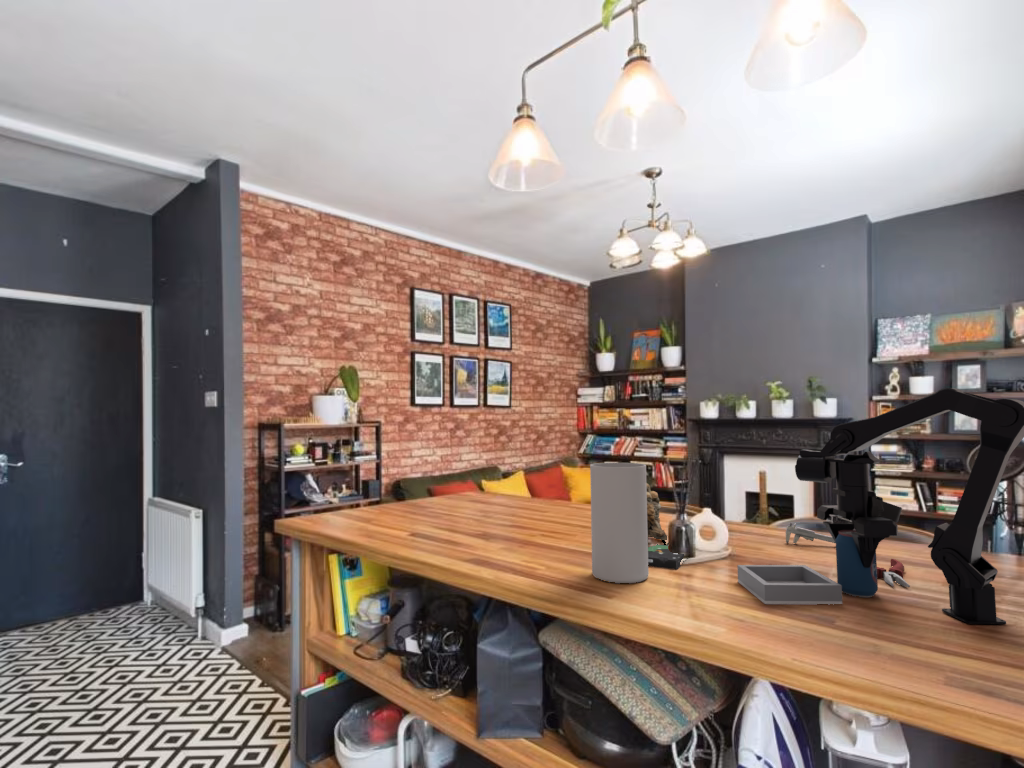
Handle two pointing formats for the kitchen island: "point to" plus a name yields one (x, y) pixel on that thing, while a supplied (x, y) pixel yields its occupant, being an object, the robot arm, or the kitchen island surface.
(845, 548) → the soda can
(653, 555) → the disk drive
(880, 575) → the pliers
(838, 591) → the tray
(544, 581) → the kitchen island surface
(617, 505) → the cylinder vase
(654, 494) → the owl figurine
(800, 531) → the caliper
